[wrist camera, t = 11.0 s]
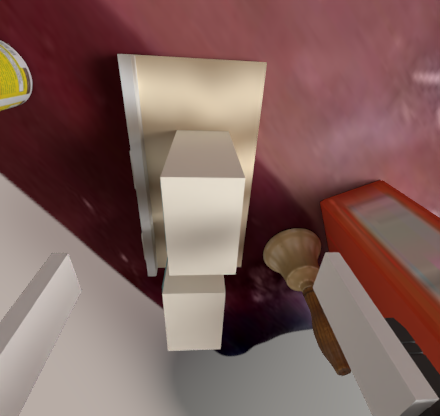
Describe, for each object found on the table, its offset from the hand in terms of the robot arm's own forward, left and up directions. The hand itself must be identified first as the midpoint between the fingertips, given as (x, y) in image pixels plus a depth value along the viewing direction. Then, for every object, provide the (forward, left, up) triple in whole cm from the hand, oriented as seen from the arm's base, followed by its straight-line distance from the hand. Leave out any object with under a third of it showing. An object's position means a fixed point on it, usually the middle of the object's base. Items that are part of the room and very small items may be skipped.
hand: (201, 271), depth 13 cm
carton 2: (+10, -1, -15) cm, 18 cm away
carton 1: (0, 0, -15) cm, 15 cm away
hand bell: (+13, +13, -17) cm, 25 cm away
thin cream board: (+2, -1, -17) cm, 17 cm away
